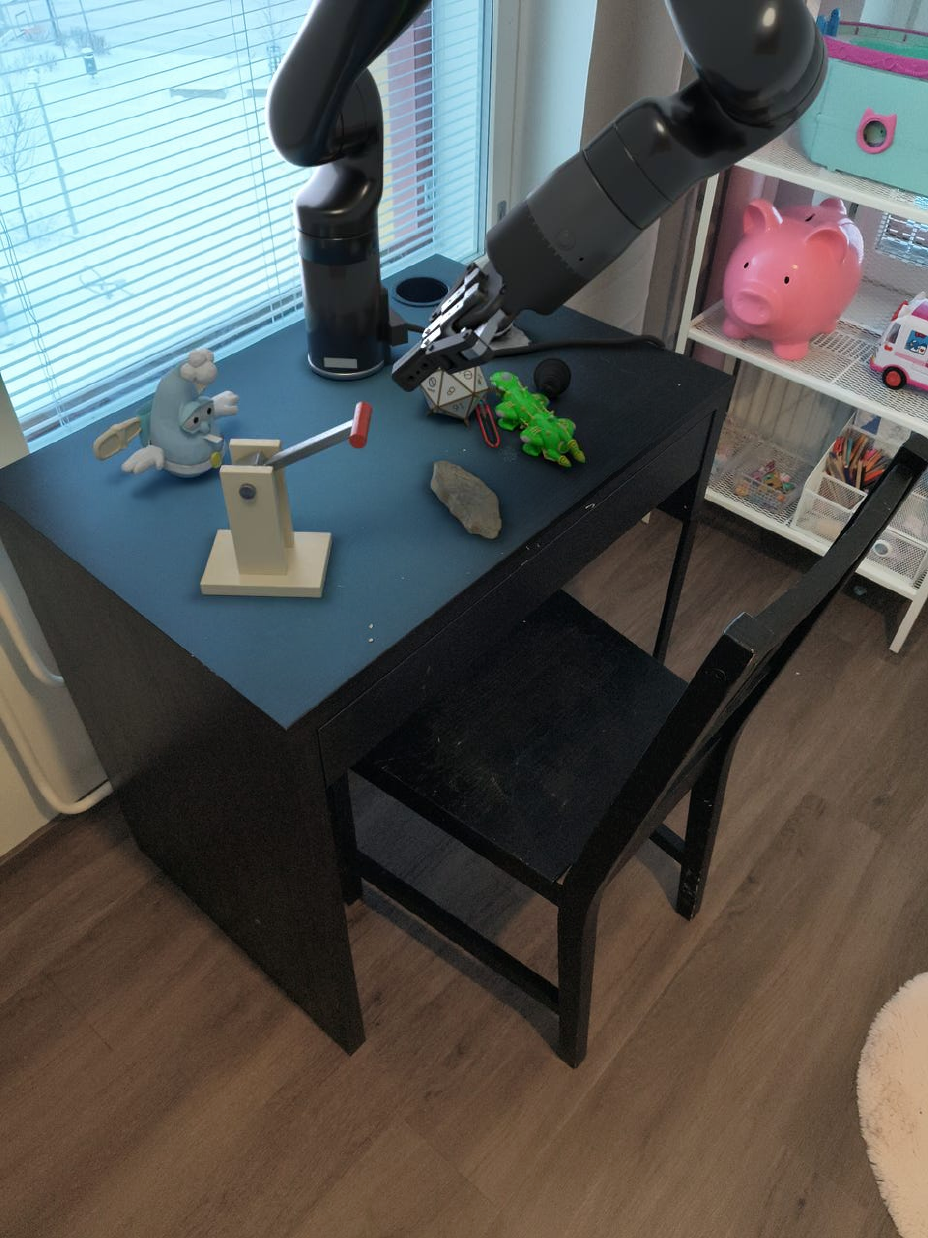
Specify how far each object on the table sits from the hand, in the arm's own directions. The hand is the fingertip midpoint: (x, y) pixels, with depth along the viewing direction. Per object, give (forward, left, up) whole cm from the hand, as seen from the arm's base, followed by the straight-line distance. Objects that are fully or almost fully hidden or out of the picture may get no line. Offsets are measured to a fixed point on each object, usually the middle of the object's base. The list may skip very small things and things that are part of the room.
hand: (399, 380), depth 80 cm
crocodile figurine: (-23, -14, -21) cm, 34 cm away
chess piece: (-29, -21, -18) cm, 41 cm away
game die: (-17, -22, -21) cm, 34 cm away
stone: (-8, -7, -19) cm, 22 cm away
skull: (-28, -36, -21) cm, 50 cm away
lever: (+7, -4, -8) cm, 11 cm away
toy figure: (+13, -25, -21) cm, 35 cm away
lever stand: (+11, -7, -20) cm, 24 cm away
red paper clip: (-20, -21, -20) cm, 35 cm away
